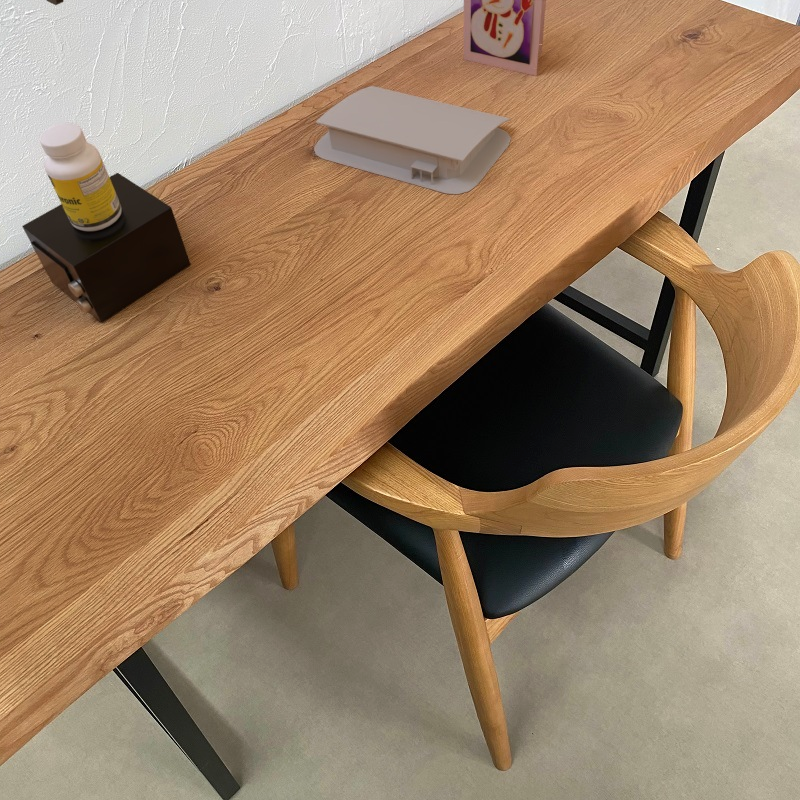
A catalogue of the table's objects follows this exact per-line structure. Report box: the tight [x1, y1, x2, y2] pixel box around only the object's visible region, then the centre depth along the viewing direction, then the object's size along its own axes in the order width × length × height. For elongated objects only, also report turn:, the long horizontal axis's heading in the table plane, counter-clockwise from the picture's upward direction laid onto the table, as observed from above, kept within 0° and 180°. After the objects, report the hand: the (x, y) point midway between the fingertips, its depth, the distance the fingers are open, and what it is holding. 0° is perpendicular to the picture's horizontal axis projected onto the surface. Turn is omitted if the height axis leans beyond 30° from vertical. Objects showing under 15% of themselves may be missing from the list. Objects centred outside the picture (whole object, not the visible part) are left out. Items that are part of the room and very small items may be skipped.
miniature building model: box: [313, 85, 512, 195], centre depth 101 cm, size 15×23×4 cm, turn 61°
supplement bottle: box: [39, 122, 121, 231], centre depth 79 cm, size 5×5×10 cm
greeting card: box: [463, 0, 547, 77], centre depth 109 cm, size 11×7×15 cm, turn 60°
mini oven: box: [21, 172, 192, 324], centre depth 86 cm, size 13×10×8 cm
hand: (10, 20), depth 67 cm, fingers open, 8 cm apart
